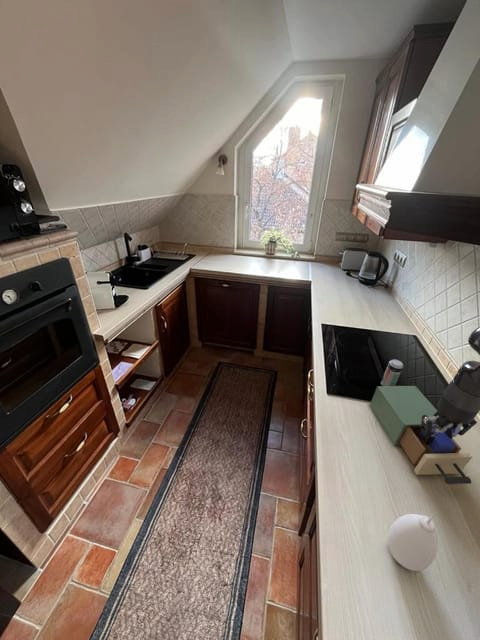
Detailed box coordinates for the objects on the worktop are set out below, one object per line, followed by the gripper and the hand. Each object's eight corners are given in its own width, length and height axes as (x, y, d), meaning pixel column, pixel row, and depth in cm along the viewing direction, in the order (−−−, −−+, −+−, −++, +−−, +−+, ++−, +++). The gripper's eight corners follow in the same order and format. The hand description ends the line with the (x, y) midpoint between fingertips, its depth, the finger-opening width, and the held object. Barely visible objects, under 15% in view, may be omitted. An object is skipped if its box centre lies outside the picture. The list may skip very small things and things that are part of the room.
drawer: (474, 492, 67) (489, 476, 63) (428, 494, 67) (440, 477, 63) (424, 428, 84) (434, 412, 80) (387, 429, 84) (395, 413, 80)
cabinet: (435, 444, 80) (449, 423, 76) (393, 445, 80) (404, 424, 75) (405, 405, 94) (415, 385, 89) (369, 405, 93) (377, 386, 89)
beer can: (383, 379, 106) (393, 357, 100) (395, 386, 103) (406, 363, 97) (378, 384, 103) (387, 361, 97) (390, 391, 100) (401, 368, 94)
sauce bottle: (416, 590, 52) (455, 554, 43) (376, 555, 56) (404, 516, 47) (424, 554, 57) (461, 515, 48) (387, 525, 61) (414, 484, 52)
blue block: (419, 432, 75) (423, 424, 73) (433, 432, 75) (438, 424, 74) (434, 453, 70) (440, 445, 68) (450, 453, 70) (455, 445, 68)
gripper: (446, 412, 60) (419, 455, 69) (502, 411, 61) (469, 454, 69) (424, 388, 67) (402, 431, 75) (476, 388, 67) (448, 430, 76)
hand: (434, 441), depth 72 cm, fingers closed on blue block, 4 cm apart
